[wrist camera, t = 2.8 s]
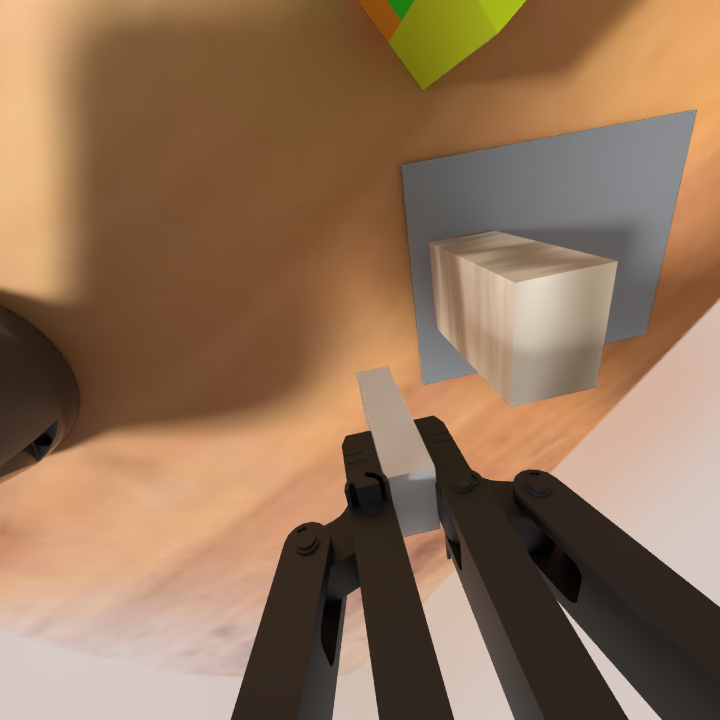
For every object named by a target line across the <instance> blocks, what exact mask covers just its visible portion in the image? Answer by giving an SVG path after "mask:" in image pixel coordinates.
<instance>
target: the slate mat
mask: <svg viewBox="0 0 720 720" xmlns="http://www.w3.org/2000/svg"><path fill="white" fill-rule="evenodd" d="M696 112H697V110H691V111H686V112H681V113H675V114H670V115H665V116H659V117H654V118H649V119H643V120H638V121H633V122H627V123H622V124H617V125H612V126H606V127H601V128H596V129H590V130H585V131H580V132H574V133H569V134H564V135H558V136H553V137H548V138H542V139H537V140H532V141H526V142H521V143H516V144H510V145H505V146H500V147H494V148H489V149H484V150H478V151H473V152H468V153H462V154H457V155H452V156H446V157H441V158H436V159H430V160H425V161H420V162H414V163H409V164H404V165H401V173H402V184H403V194H404V204H405V214H406V224H407V234H408V244H409V254H410V265H411V275H412V285H413V295H414V305H415V315H416V325H417V335H418V346H419V356H420V366H421V376H422V383H423V385H425V384H430V383H434V382H438V381H443V380H447V379H452V378H456V377H461V376H465V375H470V374H474V373H478V372H477V371H476V370H475V369H474V368H473V367H472V366H471V364H470V363H469V362H468V361H467V360H466V359H465V358H464V357H463V356H462V355H461V354H460V353H459V352H458V351H457V349H456V348H455V347H454V346H453V345H452V344H451V343H450V342H449V341H448V340H447V339H446V338H445V337H444V336H443V335H442V333H441V332H440V331H439V330H438V329H437V328H436V327H435V317H434V303H433V289H432V275H431V262H430V248H429V242H434V241H439V240H444V239H449V238H454V237H459V236H464V235H469V234H474V233H479V232H484V231H489V230H494V231H498V232H502V233H506V234H510V235H514V236H519V237H523V238H527V239H531V240H535V241H539V242H543V243H547V244H551V245H555V246H559V247H563V248H567V249H571V250H575V251H579V252H583V253H587V254H591V255H595V256H599V257H603V258H607V259H611V260H615V261H618V263H617V269H616V275H615V281H614V287H613V293H612V299H611V305H610V311H609V316H608V322H607V328H606V334H605V340H604V344H607V343H612V342H616V341H621V340H625V339H630V338H634V337H638V336H643V335H646V332H647V328H648V323H649V319H650V314H651V310H652V306H653V301H654V297H655V292H656V288H657V284H658V279H659V275H660V270H661V266H662V262H663V257H664V253H665V248H666V244H667V240H668V235H669V231H670V226H671V222H672V218H673V213H674V209H675V204H676V200H677V196H678V191H679V187H680V182H681V178H682V173H683V169H684V165H685V160H686V156H687V151H688V147H689V143H690V138H691V134H692V129H693V125H694V121H695V116H696Z"/></svg>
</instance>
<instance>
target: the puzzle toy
mask: <svg viewBox="0 0 720 720" xmlns="http://www.w3.org/2000/svg"><path fill="white" fill-rule="evenodd" d="M357 1H358V2H359V3H360V5H361V6H362V8H363V9H364V10H365V12H366V13H367V14H368V16H369V17H370V19H371V20H372V21H373V23H374V24H375V25H376V27H377V28H378V29H379V31H380V32H381V34H382V35H383V36H384V38H385V39H386V40H387V42H388V43H389V45H390V46H391V47H392V49H393V50H394V51H395V53H396V54H397V55H398V57H399V58H400V60H401V61H402V62H403V64H404V65H405V66H406V68H407V69H408V71H409V72H410V73H411V75H412V76H413V77H414V79H415V80H416V81H417V83H418V84H419V86H420V87H421V88H422V90H424V89H425V88H427V87H428V86H429V85H431V84H432V83H433V82H435V81H436V80H437V79H439V78H440V77H441V76H443V75H444V74H445V73H447V72H448V71H449V70H451V69H452V68H453V67H454V66H456V65H457V64H458V63H460V62H461V61H462V60H464V59H465V58H466V57H468V56H469V55H470V54H472V53H473V52H474V51H476V50H477V49H478V48H480V47H481V46H482V45H484V44H485V43H486V42H487V41H489V40H490V39H491V38H493V37H494V36H495V35H497V34H498V33H499V32H500V31H501V29H502V28H503V27H504V26H505V25H506V24H507V22H508V21H509V20H510V19H511V18H512V17H513V15H514V14H515V13H516V12H517V11H518V10H519V8H520V7H521V6H522V5H523V4H524V3H525V1H526V0H357Z"/></svg>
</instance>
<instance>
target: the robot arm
mask: <svg viewBox="0 0 720 720" xmlns="http://www.w3.org/2000/svg"><path fill="white" fill-rule="evenodd" d="M356 374H357V379H358V384H359V389H360V394H361V400H362V405H363V410H364V415H365V420H366V424H367V428H368V431H366V432H362V433H357V434H353V435H348V436H346V437H345V439H344V442H343V444H342V450H343V457H344V464H345V471H346V478H347V482H346V484H345V495H346V499H347V502H348V506H347V508H346V509H345V511H344V512H343V513H342V514H341V516H340V517H338V518H337V519H335V520H334V521H332V522H330V523H329V524H327V525H325V526H323V525H322V524H320V523H316V522H309V523H304V524H302V525H300V526H298V527H296V528H295V529H294V530H293V531H292V532H291V533H290V534H289V535H288V537H287V539H286V541H285V543H284V546H283V549H282V553H281V556H280V559H279V563H278V566H277V569H276V573H275V576H274V579H273V582H272V586H271V589H270V592H269V596H268V599H267V602H266V605H265V609H264V612H263V615H262V619H261V622H260V625H259V629H258V632H257V635H256V638H255V642H254V645H253V648H252V652H251V655H250V658H249V661H248V665H247V668H246V671H245V675H244V678H243V681H242V685H241V688H240V692H239V694H238V698H237V701H236V704H235V708H234V711H233V714H232V717H231V720H332V716H333V708H334V699H335V691H336V683H337V674H338V666H339V658H340V650H341V641H342V633H343V625H344V616H345V608H346V600H347V595H348V594H350V593H351V592H353V591H354V590H356V589H357V588H359V587H361V595H362V602H363V609H364V616H365V623H366V630H367V637H368V644H369V651H370V658H371V665H372V672H373V679H374V686H375V693H376V700H377V707H378V715H379V720H454V717H453V714H452V710H451V707H450V703H449V699H448V696H447V692H446V689H445V685H444V682H443V678H442V675H441V671H440V667H439V664H438V660H437V657H436V653H435V650H434V646H433V643H432V639H431V635H430V632H429V629H428V625H427V621H426V618H425V614H424V611H423V607H422V604H421V600H420V596H419V593H418V589H417V586H416V582H415V579H414V575H413V572H412V568H411V564H410V561H409V557H408V554H407V550H406V547H405V543H404V540H403V537H407V536H411V535H415V534H419V533H424V532H428V531H432V530H436V529H440V521H441V524H442V526H443V528H444V531H445V541H446V553H447V559H451V557H452V560H453V563H454V565H455V568H456V570H457V573H458V575H459V578H460V580H461V583H462V586H463V588H464V591H465V593H466V596H467V598H468V601H469V604H470V606H471V609H472V611H473V614H474V616H475V619H476V621H477V624H478V627H479V629H480V631H481V634H482V637H483V639H484V642H485V644H486V647H487V650H488V652H489V655H490V657H491V660H492V662H493V665H494V667H495V670H496V673H497V675H498V678H499V680H500V683H501V685H502V688H503V691H504V693H505V696H506V698H507V701H508V703H509V706H510V708H511V711H512V714H513V716H514V719H515V720H629V719H628V718H627V716H626V715H625V713H624V711H623V710H622V708H621V706H620V705H619V703H618V701H617V700H616V698H615V696H614V695H613V693H612V691H611V690H610V688H609V686H608V685H607V683H606V681H605V680H604V678H603V677H602V675H601V673H600V671H599V670H598V668H597V666H596V665H595V663H594V662H593V660H592V658H591V656H590V655H589V653H588V651H587V650H586V648H585V646H584V645H583V643H582V642H581V640H580V638H579V637H578V635H577V633H576V632H575V630H574V628H573V627H572V625H571V624H570V622H569V620H568V618H567V617H566V615H565V613H564V612H563V610H562V608H561V607H560V605H559V603H560V604H561V605H562V606H563V607H564V609H565V610H566V611H567V612H568V613H569V614H570V616H571V617H572V618H573V619H574V620H575V621H576V622H577V623H578V625H579V626H580V627H581V628H582V629H583V630H584V631H585V632H586V634H587V635H588V636H589V637H590V638H591V639H592V641H593V642H594V643H595V644H596V645H597V646H598V647H599V648H600V650H601V651H602V652H603V653H604V654H605V655H606V657H607V658H608V659H609V660H610V661H611V662H612V663H613V664H614V665H615V667H616V668H617V669H618V670H619V671H620V672H621V674H622V675H623V676H624V677H625V678H626V679H627V680H628V681H629V683H630V684H631V685H632V686H633V687H634V688H635V690H636V691H637V692H638V693H639V694H640V695H641V696H642V698H643V699H644V700H645V701H646V702H647V703H648V704H649V705H650V707H651V708H652V709H653V710H654V711H655V712H656V713H657V715H658V716H659V717H660V718H661V719H662V720H720V607H719V606H718V605H716V604H715V603H714V602H712V601H711V600H710V599H709V598H708V597H706V596H705V595H704V594H702V593H701V592H700V591H699V590H697V589H696V588H695V587H693V586H692V585H691V584H690V583H689V582H687V581H686V580H685V579H684V578H682V577H681V576H680V575H678V574H677V573H676V572H675V571H673V570H672V569H671V568H670V567H668V566H667V565H666V564H664V563H663V562H662V561H661V560H659V559H658V558H657V557H656V556H654V555H653V554H652V553H651V552H649V551H648V550H647V549H646V548H644V547H643V546H642V545H641V544H639V543H638V542H637V541H635V540H634V539H633V538H632V537H630V536H629V535H628V534H626V533H625V532H624V531H623V530H622V529H620V528H619V527H618V526H616V525H615V524H614V523H613V522H611V521H610V520H609V519H607V518H606V517H605V516H604V515H603V514H601V513H600V512H599V511H597V510H596V509H595V508H594V507H592V506H591V505H590V504H589V503H587V502H586V501H585V500H584V499H582V498H581V497H580V496H579V495H577V494H576V493H575V492H573V491H572V490H571V489H570V488H568V487H567V486H566V485H565V484H563V483H562V482H561V481H559V480H558V479H557V478H556V477H554V476H552V475H551V474H549V473H547V472H544V471H540V470H525V471H522V472H520V473H519V474H517V475H516V476H515V479H514V481H513V482H510V481H493V480H488V479H485V478H482V477H481V476H480V475H479V473H477V472H475V471H473V470H471V468H470V467H469V465H468V464H467V462H466V460H465V458H464V457H463V455H462V453H461V452H460V450H459V448H458V446H457V445H456V443H455V441H454V440H453V438H452V436H451V434H450V433H449V431H448V429H447V428H446V426H445V424H444V422H442V421H441V420H439V419H438V418H437V417H435V416H429V417H425V418H420V419H416V420H413V419H412V416H411V414H410V412H409V410H408V408H407V406H406V403H405V401H404V399H403V397H402V395H401V392H400V390H399V388H398V386H397V384H396V382H395V379H394V377H393V375H392V373H391V371H390V369H389V366H386V367H381V368H376V369H372V370H367V371H362V372H358V373H356ZM78 409H79V394H78V389H77V385H76V382H75V379H74V376H73V374H72V372H71V370H70V368H69V366H68V364H67V363H66V361H65V360H64V358H63V357H62V355H61V354H60V353H59V352H58V350H57V349H56V348H55V347H54V346H53V345H52V343H51V342H50V341H49V340H48V339H47V338H46V337H44V336H43V335H42V334H41V333H40V332H39V331H38V330H36V329H35V328H34V327H33V326H31V325H30V324H29V323H27V322H26V321H24V320H23V319H21V318H20V317H18V316H17V315H15V314H13V313H12V312H10V311H8V310H6V309H4V308H2V307H0V484H1V483H3V482H5V481H6V480H8V479H10V478H12V477H14V476H16V475H18V474H20V473H21V472H23V471H25V470H27V469H29V468H31V467H32V466H34V465H36V464H37V463H39V462H40V461H41V460H43V459H44V458H45V457H46V456H48V455H49V454H50V453H51V452H52V451H53V450H54V449H55V448H56V446H57V445H58V444H59V443H60V442H61V441H62V440H63V439H64V438H65V437H66V436H67V434H68V433H69V432H70V430H71V429H72V427H73V425H74V423H75V421H76V418H77V415H78ZM557 601H558V602H559V603H558V602H557Z"/></svg>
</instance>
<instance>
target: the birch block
mask: <svg viewBox="0 0 720 720" xmlns="http://www.w3.org/2000/svg"><path fill="white" fill-rule="evenodd" d="M429 248H430V262H431V275H432V289H433V303H434V317H435V327H436V328H437V329H438V330H439V331H440V332H441V333H442V335H443V336H444V337H445V338H446V339H447V340H448V341H449V342H450V343H451V344H452V345H453V346H454V347H455V348H456V349H457V351H458V352H459V353H460V354H461V355H462V356H463V357H464V358H465V359H466V360H467V361H468V362H469V363H470V364H471V366H472V367H473V368H474V369H475V370H476V371H477V372H478V373H479V374H480V375H481V376H482V377H483V378H484V379H485V380H486V382H487V383H488V384H489V385H490V386H491V387H492V388H493V389H494V390H495V391H496V392H497V393H498V394H499V395H500V397H501V398H502V399H503V400H504V401H505V402H506V403H507V404H508V405H509V406H510V407H514V406H519V405H523V404H527V403H532V402H536V401H540V400H544V399H549V398H553V397H557V396H562V395H566V394H570V393H575V392H579V391H583V390H588V389H592V388H596V387H597V381H598V376H599V370H600V364H601V358H602V352H603V346H604V340H605V334H606V328H607V322H608V316H609V311H610V305H611V299H612V293H613V287H614V281H615V275H616V269H617V263H618V261H615V260H611V259H607V258H603V257H599V256H595V255H591V254H587V253H583V252H579V251H575V250H571V249H567V248H563V247H559V246H555V245H551V244H547V243H543V242H539V241H535V240H531V239H527V238H523V237H519V236H514V235H510V234H506V233H502V232H498V231H494V230H489V231H484V232H479V233H474V234H469V235H464V236H459V237H454V238H449V239H444V240H439V241H434V242H429Z"/></svg>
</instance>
